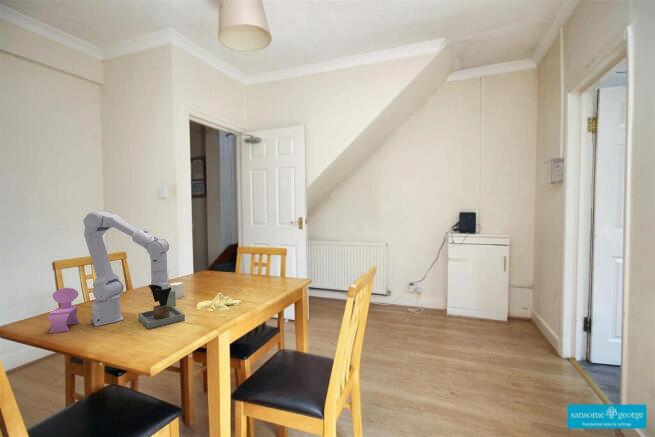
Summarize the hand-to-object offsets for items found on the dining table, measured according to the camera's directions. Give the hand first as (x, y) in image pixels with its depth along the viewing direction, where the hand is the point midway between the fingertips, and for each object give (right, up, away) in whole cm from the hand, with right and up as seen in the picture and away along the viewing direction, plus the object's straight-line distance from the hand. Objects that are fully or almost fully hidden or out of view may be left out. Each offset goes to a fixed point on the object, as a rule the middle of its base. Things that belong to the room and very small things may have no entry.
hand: (160, 303), depth 127 cm
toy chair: (-33, -8, -7) cm, 34 cm away
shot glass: (-8, -6, +31) cm, 33 cm away
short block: (0, -6, +1) cm, 6 cm away
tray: (0, -7, 0) cm, 7 cm away
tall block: (-5, -6, +18) cm, 20 cm away
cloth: (+18, -6, +18) cm, 26 cm away
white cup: (-23, -5, +45) cm, 51 cm away
